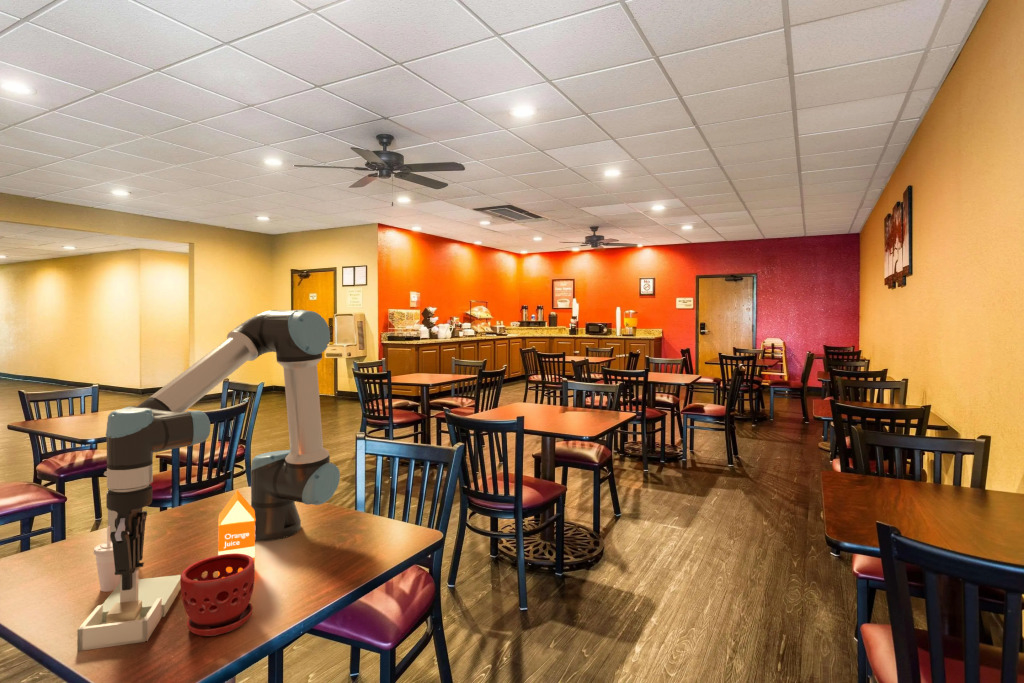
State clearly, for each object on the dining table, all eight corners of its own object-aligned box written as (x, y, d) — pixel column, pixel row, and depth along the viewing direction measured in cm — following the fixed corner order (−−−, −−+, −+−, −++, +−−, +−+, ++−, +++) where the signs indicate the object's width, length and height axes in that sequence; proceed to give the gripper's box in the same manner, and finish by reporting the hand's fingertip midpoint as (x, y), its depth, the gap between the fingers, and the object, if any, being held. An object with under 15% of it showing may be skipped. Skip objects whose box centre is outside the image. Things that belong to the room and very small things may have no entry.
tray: (161, 617, 111) (161, 597, 111) (147, 641, 102) (147, 620, 102) (97, 625, 107) (98, 605, 107) (77, 651, 99) (77, 629, 99)
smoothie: (105, 581, 125) (105, 521, 125) (134, 580, 126) (134, 521, 126) (86, 595, 119) (86, 532, 119) (116, 594, 120) (117, 531, 119)
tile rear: (142, 609, 109) (142, 600, 109) (134, 621, 104) (134, 611, 104) (115, 612, 107) (115, 603, 107) (106, 624, 103) (106, 614, 103)
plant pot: (233, 601, 118) (233, 546, 117) (267, 620, 110) (267, 562, 110) (167, 627, 107) (168, 568, 107) (200, 651, 100) (200, 587, 99)
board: (182, 585, 124) (182, 574, 124) (164, 616, 111) (164, 604, 111) (121, 592, 120) (121, 581, 120) (95, 625, 107) (95, 613, 107)
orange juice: (217, 589, 123) (218, 502, 122) (218, 573, 131) (218, 491, 130) (255, 582, 126) (256, 497, 126) (254, 567, 134) (254, 487, 134)
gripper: (120, 478, 113) (119, 589, 114) (93, 497, 101) (93, 622, 101) (161, 476, 115) (160, 585, 116) (140, 495, 103) (139, 616, 104)
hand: (129, 602), depth 109 cm, fingers closed
